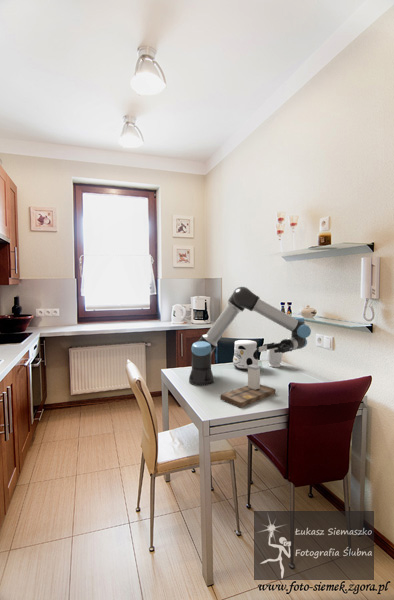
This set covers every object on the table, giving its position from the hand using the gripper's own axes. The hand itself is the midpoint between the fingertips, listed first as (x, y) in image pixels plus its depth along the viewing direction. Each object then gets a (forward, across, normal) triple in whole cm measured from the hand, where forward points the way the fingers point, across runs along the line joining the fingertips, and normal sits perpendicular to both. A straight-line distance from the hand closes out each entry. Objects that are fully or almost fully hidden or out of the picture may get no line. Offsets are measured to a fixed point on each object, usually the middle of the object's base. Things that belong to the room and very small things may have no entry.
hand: (264, 350), depth 177 cm
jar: (-43, +25, -22) cm, 55 cm away
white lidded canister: (+9, 0, -19) cm, 21 cm away
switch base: (+15, -2, -22) cm, 27 cm away
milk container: (-24, +35, -22) cm, 48 cm away
